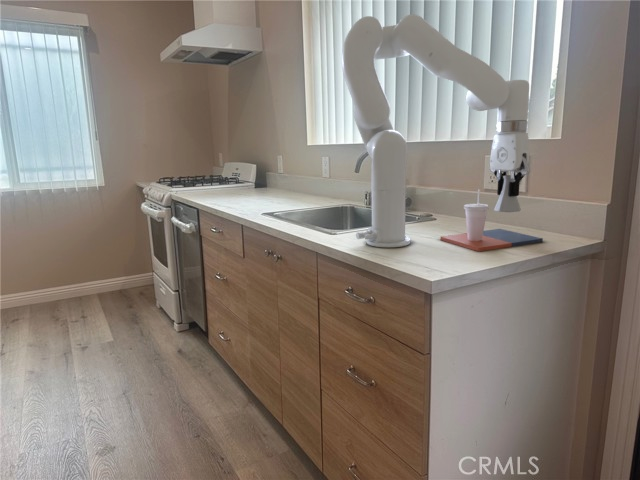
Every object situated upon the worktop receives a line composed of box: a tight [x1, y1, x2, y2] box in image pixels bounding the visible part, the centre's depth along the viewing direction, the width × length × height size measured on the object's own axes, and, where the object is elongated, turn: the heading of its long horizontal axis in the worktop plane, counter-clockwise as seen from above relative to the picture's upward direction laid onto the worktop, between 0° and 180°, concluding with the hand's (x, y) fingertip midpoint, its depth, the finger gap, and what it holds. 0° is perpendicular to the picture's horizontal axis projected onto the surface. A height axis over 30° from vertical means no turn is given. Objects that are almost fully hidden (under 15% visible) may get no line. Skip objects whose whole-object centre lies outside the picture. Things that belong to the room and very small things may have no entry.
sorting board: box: [440, 228, 544, 252], centre depth 122 cm, size 22×16×1 cm
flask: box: [493, 174, 521, 213], centre depth 122 cm, size 7×7×10 cm
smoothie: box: [463, 188, 489, 241], centre depth 119 cm, size 6×6×14 cm
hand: (507, 194), depth 122 cm, fingers closed on flask, 3 cm apart
